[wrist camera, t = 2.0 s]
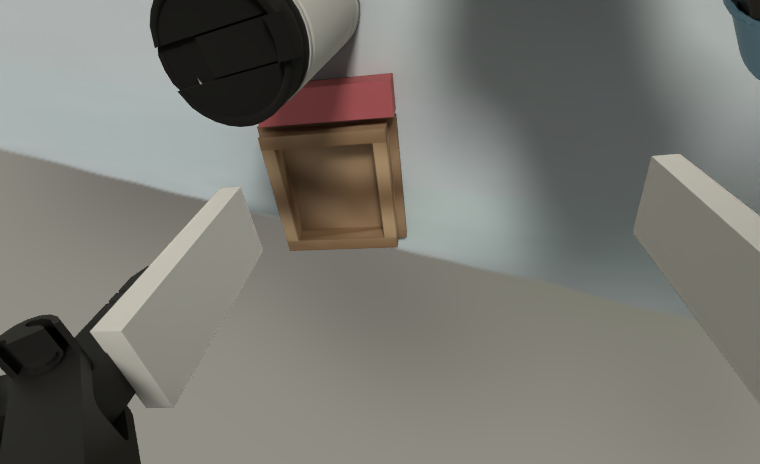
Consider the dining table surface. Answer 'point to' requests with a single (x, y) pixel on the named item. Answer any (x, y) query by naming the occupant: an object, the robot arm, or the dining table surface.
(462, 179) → the dining table surface
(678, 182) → the robot arm
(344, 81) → the door edge strip
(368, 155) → the box
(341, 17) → the travel mug
